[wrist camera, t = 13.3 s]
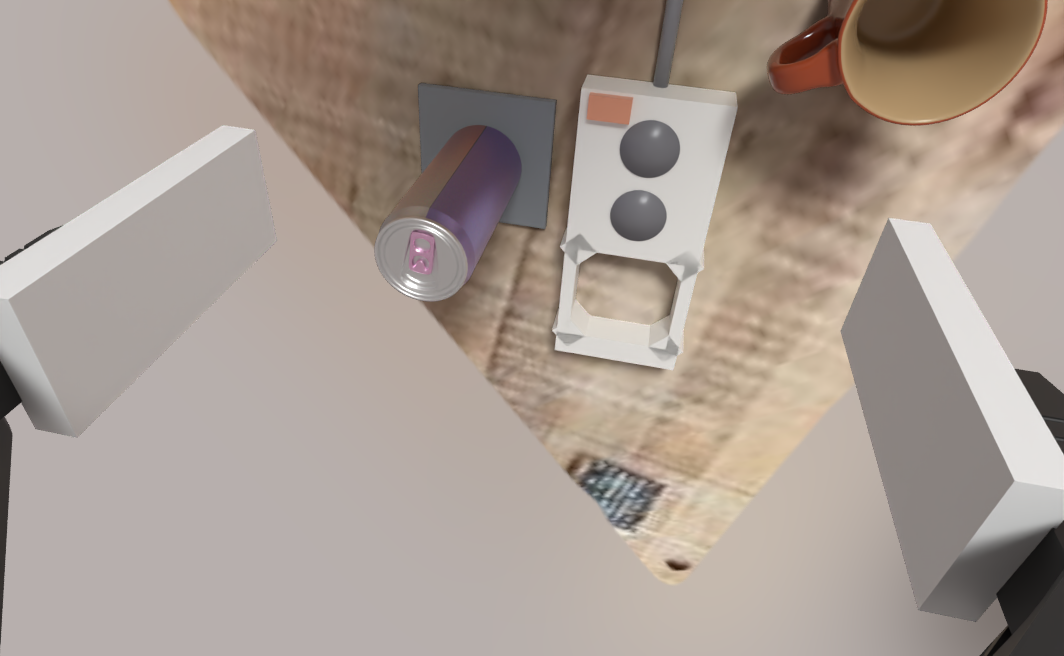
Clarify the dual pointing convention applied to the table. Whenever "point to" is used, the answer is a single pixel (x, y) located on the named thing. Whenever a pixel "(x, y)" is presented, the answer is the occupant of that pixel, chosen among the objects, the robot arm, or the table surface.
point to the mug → (912, 54)
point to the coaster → (508, 114)
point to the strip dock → (642, 197)
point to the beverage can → (448, 215)
